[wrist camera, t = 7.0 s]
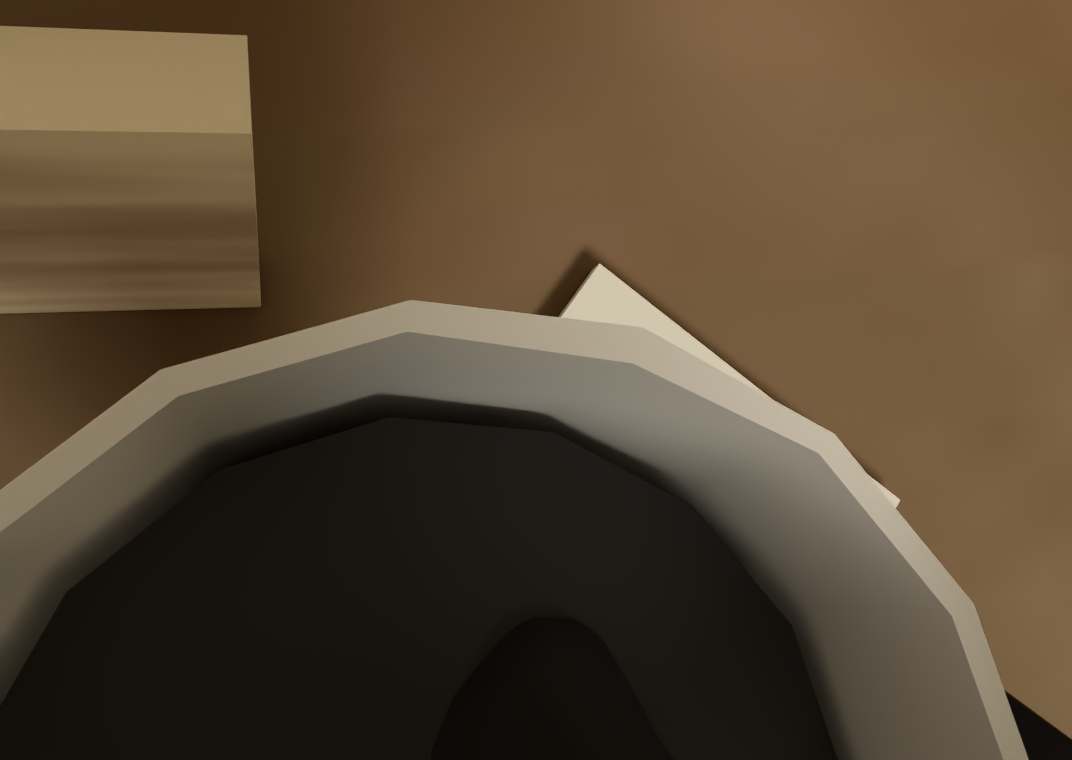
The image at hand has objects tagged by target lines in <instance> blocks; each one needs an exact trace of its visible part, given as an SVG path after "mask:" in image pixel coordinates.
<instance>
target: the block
mask: <svg viewBox="0 0 1072 760" xmlns="http://www.w3.org/2000/svg"><path fill="white" fill-rule="evenodd" d="M240 307H261V291H260V269H259V248H258V229H257V210H256V192H255V173H254V155H253V136H252V117H251V99H250V80H249V61H248V43H247V35H224V34H198V33H172V32H147V31H121V30H95V29H69V28H44V27H18V26H0V314H6V313H45V312H84V311H123V310H162V309H201V308H240Z"/></svg>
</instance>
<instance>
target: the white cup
mask: <svg viewBox="0 0 1072 760" xmlns="http://www.w3.org/2000/svg"><path fill="white" fill-rule="evenodd" d="M0 760H1029V759H1028V756H1027V753H1026V750H1025V748H1024V745H1023V742H1022V739H1021V736H1020V734H1019V731H1018V728H1017V725H1016V722H1015V719H1014V717H1013V714H1012V711H1011V708H1010V705H1009V702H1008V700H1007V697H1006V694H1005V691H1004V688H1003V685H1002V683H1001V680H1000V677H999V674H998V671H997V668H996V666H995V663H994V660H993V657H992V654H991V651H990V649H989V646H988V643H987V640H986V637H985V634H984V632H983V629H982V626H981V623H980V620H979V617H978V615H977V612H976V609H975V606H974V604H973V602H972V601H971V600H970V599H969V598H968V596H967V595H966V594H965V593H964V591H963V590H962V589H961V588H960V587H959V585H958V584H957V583H956V582H955V580H954V579H953V578H952V577H951V576H950V574H949V573H948V572H947V571H946V569H945V568H944V567H943V566H942V565H941V563H940V562H939V561H938V560H937V558H936V557H935V556H934V555H933V554H932V552H931V551H930V550H929V549H928V547H927V546H926V545H925V544H924V543H923V541H922V540H921V539H920V538H919V537H918V535H917V534H916V533H915V532H914V530H913V529H912V528H911V527H910V526H909V524H908V523H907V522H906V521H905V519H904V518H903V517H902V516H901V515H900V513H899V512H898V511H897V510H896V508H895V507H894V506H893V505H892V504H891V502H890V501H889V500H888V499H887V497H886V496H885V495H884V494H883V493H882V491H881V490H880V489H879V488H878V487H877V485H876V484H875V483H874V482H873V480H872V479H871V478H870V477H869V476H868V474H867V473H866V472H865V471H864V469H863V468H862V467H861V466H860V465H859V463H858V462H857V461H856V460H855V458H854V457H853V456H852V455H851V454H850V452H849V451H848V450H847V449H846V447H845V446H844V445H843V444H842V443H841V441H840V440H839V439H838V438H837V436H836V435H835V434H833V433H832V432H830V431H828V430H826V429H824V428H823V427H821V426H819V425H817V424H816V423H814V422H812V421H810V420H808V419H807V418H805V417H803V416H801V415H799V414H798V413H796V412H794V411H792V410H790V409H789V408H787V407H785V406H783V405H781V404H780V403H778V402H776V401H774V400H772V399H771V398H769V397H767V396H765V395H763V394H762V393H760V392H758V391H756V390H754V389H753V388H751V387H749V386H747V385H746V384H744V383H742V382H740V381H738V380H737V379H735V378H733V377H731V376H729V375H728V374H726V373H724V372H722V371H720V370H719V369H717V368H715V367H713V366H711V365H710V364H708V363H706V362H704V361H702V360H701V359H699V358H697V357H695V356H693V355H692V354H690V353H688V352H686V351H684V350H683V349H681V348H679V347H677V346H675V345H674V344H672V343H670V342H668V341H667V340H665V339H663V338H661V337H659V336H658V335H656V334H654V333H652V332H650V331H649V330H647V329H645V328H643V327H637V326H629V325H620V324H612V323H603V322H595V321H586V320H578V319H569V318H561V317H552V316H543V315H535V314H526V313H518V312H509V311H501V310H492V309H484V308H475V307H467V306H458V305H450V304H441V303H433V302H424V301H415V300H409V301H405V302H402V303H398V304H394V305H391V306H387V307H384V308H380V309H376V310H373V311H369V312H366V313H362V314H358V315H355V316H351V317H348V318H344V319H340V320H337V321H333V322H330V323H326V324H322V325H319V326H315V327H312V328H308V329H304V330H301V331H297V332H294V333H290V334H286V335H283V336H279V337H276V338H272V339H268V340H265V341H261V342H258V343H254V344H250V345H247V346H243V347H240V348H236V349H232V350H229V351H225V352H222V353H218V354H214V355H211V356H207V357H204V358H200V359H197V360H193V361H189V362H186V363H182V364H179V365H175V366H171V367H168V368H164V369H161V370H159V371H158V372H156V373H155V374H154V375H152V376H151V377H150V378H148V379H147V380H146V381H144V382H143V383H142V384H140V385H139V386H138V387H136V388H135V389H134V390H132V391H131V392H130V393H128V394H127V395H126V396H124V397H123V398H122V399H120V400H119V401H118V402H116V403H115V404H114V405H112V406H111V407H110V408H108V409H107V410H106V411H104V412H103V413H102V414H100V415H99V416H98V417H97V418H95V419H94V420H93V421H91V422H90V423H89V424H87V425H86V426H85V427H83V428H82V429H81V430H79V431H78V432H77V433H75V434H74V435H73V436H71V437H70V438H69V439H67V440H66V441H65V442H63V443H62V444H61V445H59V446H58V447H57V448H55V449H54V450H53V451H51V452H50V453H49V454H47V455H46V456H45V457H43V458H42V459H41V460H39V461H38V462H37V463H35V464H34V465H33V466H31V467H30V468H29V469H27V470H26V471H25V472H23V473H22V474H21V475H19V476H18V477H17V478H15V479H14V480H13V481H11V482H10V483H9V484H7V485H6V486H5V487H3V488H2V489H1V490H0Z"/></svg>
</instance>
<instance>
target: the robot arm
mask: <svg viewBox="0 0 1072 760" xmlns="http://www.w3.org/2000/svg"><path fill="white" fill-rule="evenodd" d="M1004 691H1005V690H1004ZM1005 694H1006V697H1007V700H1008V702H1009V705H1010V708H1011V711H1012V714H1013V717H1014V719H1015V722H1016V725H1017V728H1018V731H1019V734H1020V736H1021V739H1022V742H1023V745H1024V748H1025V750H1026V753H1027V756H1028V759H1029V760H1072V739H1071V738H1069V737H1068V736H1067V735H1065V734H1064V733H1062V732H1061V731H1060V730H1058V729H1057V728H1056V727H1054V726H1053V725H1052V724H1050V723H1049V722H1047V721H1046V720H1045V719H1043V718H1042V717H1041V716H1039V715H1038V714H1037V713H1035V712H1034V711H1032V710H1031V709H1030V708H1028V707H1027V706H1026V705H1024V704H1023V703H1022V702H1020V701H1019V700H1017V699H1016V698H1015V697H1013V696H1012V695H1011V694H1009V693H1008V692H1007V691H1005Z"/></svg>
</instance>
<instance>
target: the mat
mask: <svg viewBox="0 0 1072 760" xmlns="http://www.w3.org/2000/svg"><path fill="white" fill-rule="evenodd" d="M558 317H561V318H569V319H578V320H586V321H595V322H603V323H612V324H620V325H629V326H637V327H643V328H645V329H647V330H649V331H650V332H652V333H654V334H656V335H658V336H659V337H661V338H663V339H665V340H667V341H668V342H670V343H672V344H674V345H675V346H677V347H679V348H681V349H683V350H684V351H686V352H688V353H690V354H692V355H693V356H695V357H697V358H699V359H701V360H702V361H704V362H706V363H708V364H710V365H711V366H713V367H715V368H717V369H719V370H720V371H722V372H724V373H726V374H728V375H729V376H731V377H733V378H735V379H737V380H738V381H740V382H742V383H744V384H746V385H747V386H749V387H751V388H753V389H754V390H756V391H758V392H760V393H762V394H763V395H765V396H767V395H766V394H765V393H764V392H762V391H761V390H760V389H759V388H757V387H756V386H755V385H753V384H752V383H751V382H750V381H748V380H747V379H746V378H745V377H743V376H742V375H741V374H740V373H738V372H737V371H736V370H734V369H733V368H732V367H731V366H729V365H728V364H727V363H726V362H724V361H723V360H722V359H720V358H719V357H718V356H717V355H715V354H714V353H713V352H712V351H710V350H709V349H708V348H706V347H705V346H704V345H703V344H701V343H700V342H699V341H698V340H696V339H695V338H694V337H692V336H691V335H690V334H689V333H687V332H686V331H685V330H684V329H682V328H681V327H680V326H679V325H677V324H676V323H675V322H673V321H672V320H671V319H670V318H668V317H667V316H666V315H665V314H663V313H662V312H661V311H659V310H658V309H657V308H656V307H654V306H653V305H652V304H651V303H649V302H648V301H647V300H645V299H644V298H643V297H642V296H640V295H639V294H638V293H637V292H635V291H634V290H633V289H632V288H630V287H629V286H628V285H626V284H625V283H624V282H623V281H621V280H620V279H619V278H618V277H616V276H615V275H614V274H612V273H611V272H610V271H609V270H607V269H606V268H605V267H604V266H602V265H601V264H600V263H599V264H598V265H597V266H596V267H594V268H593V269H592V271H591V272H590V273H589V275H588V276H587V278H586V279H585V280H584V282H583V283H582V285H581V286H580V287H579V289H578V290H577V291H576V293H575V294H574V296H573V297H572V298H571V300H570V301H569V303H568V304H567V305H566V307H565V308H564V309H563V311H562V312H561V314H560V315H559V316H558ZM767 397H769V396H767ZM769 398H770V397H769ZM772 400H773V399H772ZM868 476H869V475H868ZM869 477H870V476H869ZM870 478H871V479H872V480H873V482H874V483H875V484H876V485H877V487H878V488H879V489H880V490H881V491H882V493H883V494H884V495H885V496H886V497H887V499H888V500H889V501H890V502H891V504H892V505H893V506H894V507H895V508H896V507H897V505H898V503H899V501H900V499H898V498H897V497H896V496H894V495H893V494H892V493H891V492H889V491H888V490H887V489H886V488H884V487H883V486H882V485H881V484H879V483H878V482H877V481H875V480H874V479H873V478H872V477H870Z"/></svg>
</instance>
